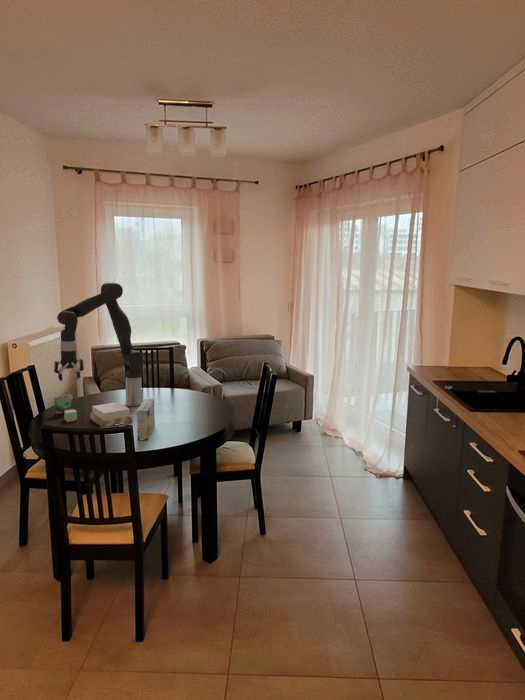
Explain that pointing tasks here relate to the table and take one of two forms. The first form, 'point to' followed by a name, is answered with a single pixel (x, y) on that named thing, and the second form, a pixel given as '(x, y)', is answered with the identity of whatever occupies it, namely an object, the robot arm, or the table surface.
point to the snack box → (145, 419)
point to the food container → (63, 403)
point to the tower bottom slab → (110, 422)
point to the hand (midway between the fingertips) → (69, 379)
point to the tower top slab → (111, 411)
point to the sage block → (70, 415)
